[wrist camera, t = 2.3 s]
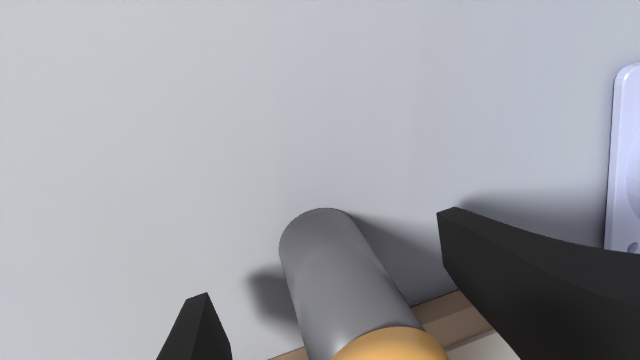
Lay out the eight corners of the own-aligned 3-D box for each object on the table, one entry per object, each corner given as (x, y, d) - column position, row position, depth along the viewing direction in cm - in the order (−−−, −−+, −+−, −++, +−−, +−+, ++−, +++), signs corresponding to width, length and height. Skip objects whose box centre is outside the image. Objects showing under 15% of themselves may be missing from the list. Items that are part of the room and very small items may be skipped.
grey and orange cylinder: (353, 193, 14) (468, 349, 8) (369, 266, 16) (480, 449, 9) (264, 222, 14) (313, 409, 8) (289, 294, 15) (347, 504, 9)
